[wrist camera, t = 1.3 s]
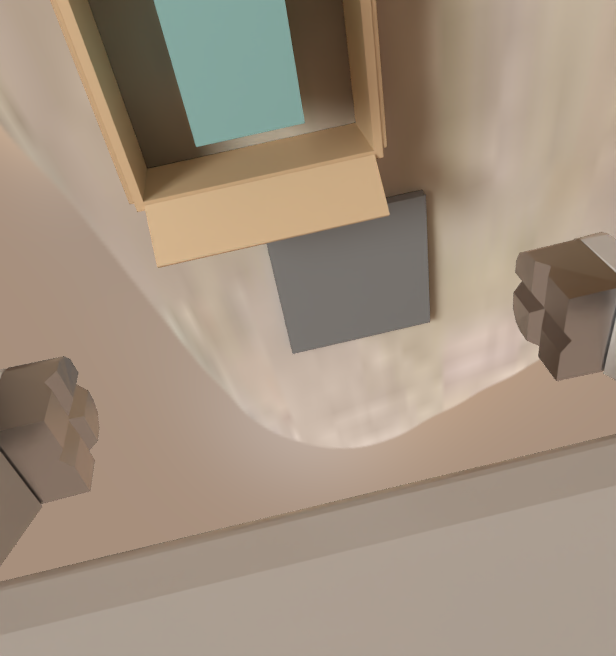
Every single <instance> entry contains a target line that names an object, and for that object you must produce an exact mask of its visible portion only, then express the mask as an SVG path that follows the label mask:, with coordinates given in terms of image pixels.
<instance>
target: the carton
mask: <svg viewBox="0 0 616 656" xmlns="http://www.w3.org/2000/svg"><path fill="white" fill-rule="evenodd" d="M50 1H51V4H52V6H53V9H54V12H55V14H56V17H57V19H58V22H59V24H60V27H61V29H62V32H63V35H64V37H65V40H66V42H67V45H68V47H69V50H70V53H71V55H72V58H73V60H74V63H75V65H76V68H77V70H78V73H79V76H80V78H81V81H82V83H83V86H84V88H85V91H86V94H87V96H88V99H89V101H90V104H91V106H92V109H93V111H94V114H95V117H96V119H97V122H98V124H99V127H100V129H101V132H102V135H103V137H104V140H105V142H106V145H107V147H108V150H109V152H110V155H111V158H112V160H113V163H114V165H115V168H116V170H117V173H118V176H119V178H120V181H121V183H122V186H123V188H124V191H125V194H126V196H127V199H128V201H129V204H133V203H134V204H135V207H136V209H137V212H140V211H146V216H147V221H148V225H149V230H150V235H151V240H152V244H153V249H154V254H155V259H156V264H157V267H158V268H160V267H164V266H169V265H173V264H178V263H182V262H186V261H191V260H195V259H200V258H204V257H208V256H213V255H217V254H222V253H226V252H231V251H235V250H239V249H244V248H248V247H253V246H257V245H262V244H266V243H270V242H275V241H279V240H284V239H288V238H293V237H297V236H301V235H306V234H310V233H315V232H319V231H324V230H328V229H332V228H337V227H341V226H346V225H350V224H354V223H359V222H363V221H368V220H372V219H377V218H381V217H385V216H389V215H390V213H389V209H388V205H387V201H386V197H385V193H384V189H383V185H382V181H381V177H380V173H379V169H378V165H377V161H376V159H378V158H382V157H383V148H385V147H387V140H386V127H385V114H384V101H383V88H382V74H381V61H380V48H379V35H378V22H377V8H376V0H342V1H343V10H344V20H345V29H346V38H347V47H348V57H349V66H350V75H351V84H352V94H353V103H354V112H355V121H356V123H352V124H348V125H343V126H339V127H334V128H330V129H325V130H321V131H316V132H312V133H307V134H303V135H298V136H294V137H289V138H284V139H280V140H275V141H271V142H266V143H262V144H257V145H253V146H248V147H244V148H239V149H235V150H230V151H226V152H221V153H217V154H212V155H208V156H203V157H199V158H194V159H190V160H185V161H180V162H176V163H171V164H167V165H162V166H158V167H153V168H149V169H147V167H146V164H145V161H144V158H143V155H142V153H141V150H140V147H139V144H138V141H137V138H136V136H135V133H134V130H133V127H132V124H131V121H130V119H129V116H128V113H127V110H126V107H125V105H124V102H123V99H122V96H121V93H120V90H119V88H118V85H117V82H116V79H115V76H114V73H113V71H112V68H111V65H110V62H109V59H108V56H107V54H106V51H105V48H104V45H103V42H102V40H101V37H100V34H99V31H98V28H97V25H96V23H95V20H94V17H93V14H92V11H91V8H90V6H89V3H88V0H50Z"/></svg>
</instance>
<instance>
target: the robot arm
mask: <svg viewBox="0 0 616 656" xmlns="http://www.w3.org/2000/svg"><path fill="white" fill-rule="evenodd" d="M515 273H516V274H517V275H518V276H519V278H520V279H521V280H522V282H521V283H520V285H519V286H518V287H517V288H516V290H515V291H514V293H513V310H514V315H515V320H516V323H517V325H518V327H519V330H520V332H521V333H522V334H523V336H524V337H525V339H526V340H527V341H529V342H531V343H534V344H536V345H538V346H539V354H538V357H539V358H540V360H541V361H542V362H543V363H544V365H545V366H546V368H547V369H548V370H549V372H550V373H551V374H552V376H553V377H554V379H555V380H556V381H559V380H563V379H569V378H573V377H578V376H583V375H588V374H593V373H597V372H602V371H604V372H603V374H605V375H607V376H609V377H611V378H613V379H614V380H616V240H615V239H614V238H613V237H612V236H611V235H609V234H607V233H603V232H599V233H595V234H591V235H587V236H584V237H580V238H576V239H574V240H572V241H567V242H563V243H559V244H554V245H550V246H546V247H542V248H537V249H533V250H529V251H525V252H520V253H519V255H518V258H517V260H516V269H515ZM77 377H78V371H77V370H76V368H75V366H74V365H73V363H72V362H71V360H70V359H69V358H66V357H64V356H63V357H58V358H53V359H48V360H43V361H38V362H34V363H29V364H24V365H19V366H15V367H9V368H7V369H1V370H0V566H1V565H2V563H3V562H4V560H5V559H6V557H7V556H8V555H9V553H10V552H11V550H12V549H13V547H14V546H15V545H16V543H17V542H18V540H19V539H20V537H21V536H22V535H23V533H24V532H25V530H26V529H27V527H28V526H29V525H30V523H31V522H32V520H33V519H34V518H35V516H36V515H37V513H38V512H39V510H40V509H41V508H42V505H41V504H43V503H47V502H51V501H54V500H58V499H62V498H66V497H70V496H74V495H77V494H81V493H85V492H89V491H90V490H91V484H92V477H93V471H94V464H95V459H94V458H93V456H92V454H91V453H90V451H89V450H90V449H91V448H92V447H93V446H94V445H95V443H96V442H97V441H98V436H99V421H98V412H97V409H96V406H95V403H94V400H93V398H92V396H91V395H90V393H89V391H88V390H86V389H84V388H82V387H80V386H79V385H77V384H76V382H77ZM0 656H616V434H613V435H609V436H605V437H601V438H597V439H593V440H588V441H584V442H581V443H576V444H572V445H568V446H563V447H559V448H555V449H551V450H547V451H542V452H538V453H534V454H530V455H526V456H522V457H517V458H513V459H509V460H505V461H501V462H497V463H492V464H489V465H484V466H480V467H475V468H471V469H467V470H463V471H459V472H454V473H450V474H446V475H442V476H438V477H433V478H429V479H425V480H421V481H417V482H413V483H408V484H405V485H400V486H396V487H392V488H388V489H384V490H380V491H375V492H372V493H367V494H363V495H359V496H355V497H350V498H346V499H342V500H338V501H334V502H329V503H325V504H321V505H317V506H313V507H309V508H305V509H300V510H296V511H292V512H288V513H284V514H280V515H276V516H271V517H267V518H263V519H259V520H255V521H251V522H246V523H242V524H239V525H235V526H230V527H226V528H222V529H217V530H213V531H209V532H205V533H201V534H197V535H192V536H188V537H184V538H180V539H176V540H172V541H167V542H163V543H159V544H155V545H151V546H147V547H142V548H138V549H134V550H130V551H126V552H122V553H117V554H113V555H109V556H105V557H101V558H97V559H93V560H88V561H84V562H80V563H76V564H72V565H67V566H63V567H59V568H55V569H51V570H47V571H42V572H39V573H34V574H30V575H26V576H22V577H18V578H14V579H9V580H6V581H1V582H0Z"/></svg>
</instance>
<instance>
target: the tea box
mask: <svg viewBox="0 0 616 656" xmlns="http://www.w3.org/2000/svg"><path fill="white" fill-rule="evenodd" d="M154 4H155V7H156V10H157V14H158V17H159V21H160V24H161V28H162V31H163V35H164V38H165V41H166V45H167V48H168V52H169V55H170V59H171V62H172V66H173V69H174V72H175V76H176V79H177V83H178V86H179V90H180V93H181V97H182V100H183V103H184V107H185V110H186V114H187V117H188V121H189V124H190V128H191V131H192V134H193V138H194V141H195V145H196V147H199V146H203V145H208V144H212V143H217V142H221V141H226V140H231V139H235V138H240V137H244V136H249V135H253V134H258V133H262V132H267V131H271V130H276V129H280V128H285V127H289V126H294V125H298V124H303V123H305V121H304V115H303V109H302V103H301V97H300V90H299V84H298V78H297V72H296V66H295V60H294V54H293V48H292V42H291V35H290V29H289V23H288V17H287V11H286V5H285V0H154Z"/></svg>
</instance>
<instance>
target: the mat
mask: <svg viewBox="0 0 616 656" xmlns="http://www.w3.org/2000/svg"><path fill="white" fill-rule="evenodd" d="M386 201H387V205H388V209H389V213H390V215H389V216H385V217H381V218H377V219H372V220H368V221H363V222H359V223H354V224H350V225H346V226H341V227H337V228H332V229H328V230H324V231H319V232H315V233H310V234H306V235H301V236H297V237H293V238H288V239H284V240H279V241H275V242H270V243H267V247H268V252H269V256H270V260H271V264H272V268H273V273H274V277H275V281H276V285H277V290H278V294H279V298H280V302H281V306H282V311H283V315H284V319H285V323H286V328H287V332H288V336H289V340H290V344H291V349H292V353H293V354H294V353H299V352H303V351H307V350H312V349H316V348H320V347H325V346H329V345H333V344H338V343H342V342H346V341H350V340H355V339H359V338H363V337H368V336H372V335H376V334H381V333H385V332H389V331H394V330H398V329H402V328H407V327H411V326H415V325H420V324H424V323H428V322H430V304H429V274H428V245H427V215H426V195H425V193H424V192H423V191H422V190H419V191H415V192H411V193H406V194H402V195H397V196H393V197H388V198H386Z"/></svg>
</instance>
